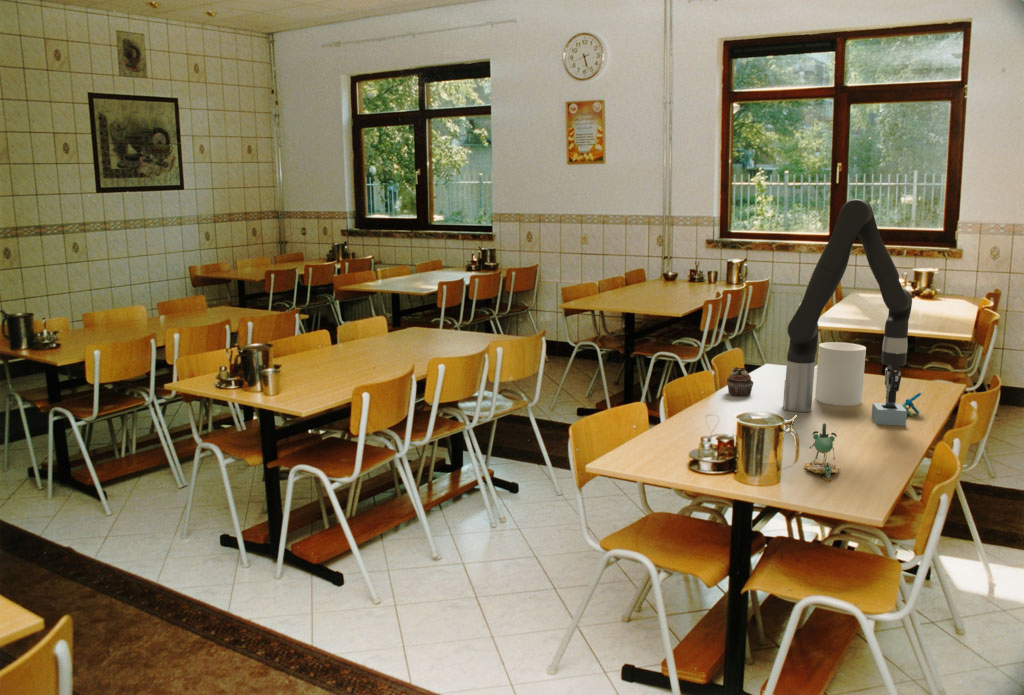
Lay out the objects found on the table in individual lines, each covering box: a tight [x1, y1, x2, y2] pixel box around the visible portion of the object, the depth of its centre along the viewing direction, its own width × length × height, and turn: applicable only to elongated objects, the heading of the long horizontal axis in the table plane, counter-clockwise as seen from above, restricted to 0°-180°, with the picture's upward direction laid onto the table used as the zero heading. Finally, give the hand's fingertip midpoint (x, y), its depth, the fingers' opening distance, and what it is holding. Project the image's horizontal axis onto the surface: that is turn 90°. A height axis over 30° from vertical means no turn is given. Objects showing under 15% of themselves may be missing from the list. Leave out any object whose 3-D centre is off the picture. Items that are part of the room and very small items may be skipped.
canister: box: [814, 341, 867, 407], centre depth 322 cm, size 16×16×20 cm
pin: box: [885, 381, 897, 409], centre depth 294 cm, size 3×3×10 cm
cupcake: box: [726, 366, 754, 398], centre depth 331 cm, size 10×10×10 cm
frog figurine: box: [803, 422, 841, 483], centre depth 244 cm, size 10×18×15 cm, turn 157°
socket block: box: [870, 402, 908, 427], centre depth 295 cm, size 9×9×5 cm
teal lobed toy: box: [901, 392, 922, 417], centre depth 306 cm, size 11×6×10 cm
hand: (890, 401), depth 294 cm, fingers closed on pin, 3 cm apart
